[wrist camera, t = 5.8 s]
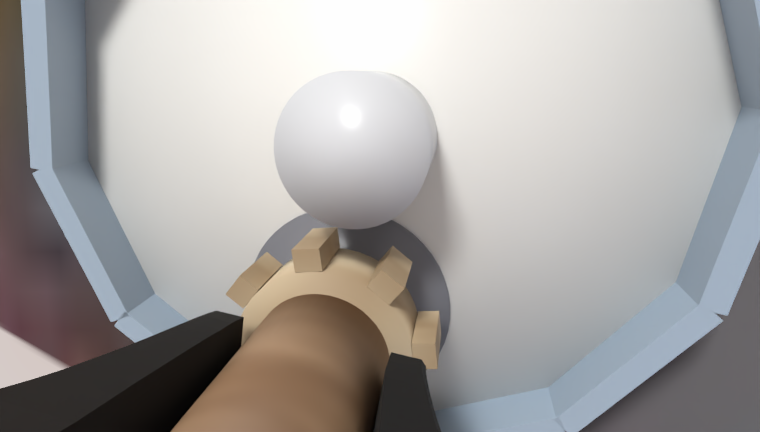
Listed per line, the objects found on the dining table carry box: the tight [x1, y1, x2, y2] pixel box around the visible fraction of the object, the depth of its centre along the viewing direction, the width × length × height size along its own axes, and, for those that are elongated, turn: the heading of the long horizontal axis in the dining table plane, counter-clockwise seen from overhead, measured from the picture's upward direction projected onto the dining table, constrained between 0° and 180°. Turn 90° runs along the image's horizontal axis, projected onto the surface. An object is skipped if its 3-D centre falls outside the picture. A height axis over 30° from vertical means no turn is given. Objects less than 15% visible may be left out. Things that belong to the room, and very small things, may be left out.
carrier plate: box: [21, 0, 760, 432], centre depth 11 cm, size 17×17×4 cm
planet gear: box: [170, 227, 441, 432], centre depth 9 cm, size 5×5×6 cm
